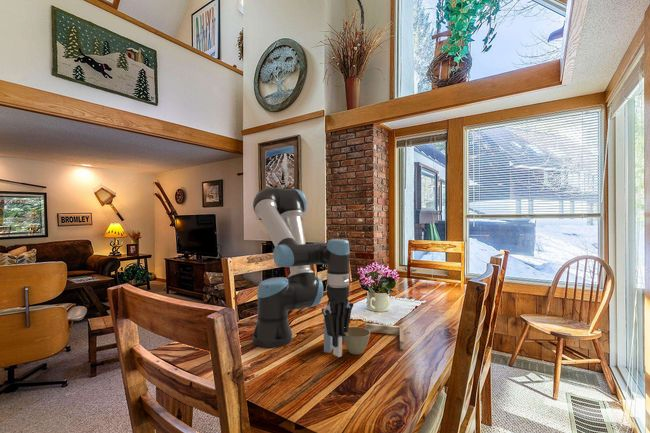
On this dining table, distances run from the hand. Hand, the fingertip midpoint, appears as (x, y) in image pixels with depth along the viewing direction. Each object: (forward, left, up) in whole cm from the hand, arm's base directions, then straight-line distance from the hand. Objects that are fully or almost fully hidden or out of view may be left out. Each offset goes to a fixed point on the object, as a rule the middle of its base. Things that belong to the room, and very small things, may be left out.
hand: (337, 355), depth 100 cm
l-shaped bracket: (+14, +21, -1) cm, 25 cm away
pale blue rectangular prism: (-5, +9, -1) cm, 10 cm away
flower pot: (+5, +8, -2) cm, 9 cm away
